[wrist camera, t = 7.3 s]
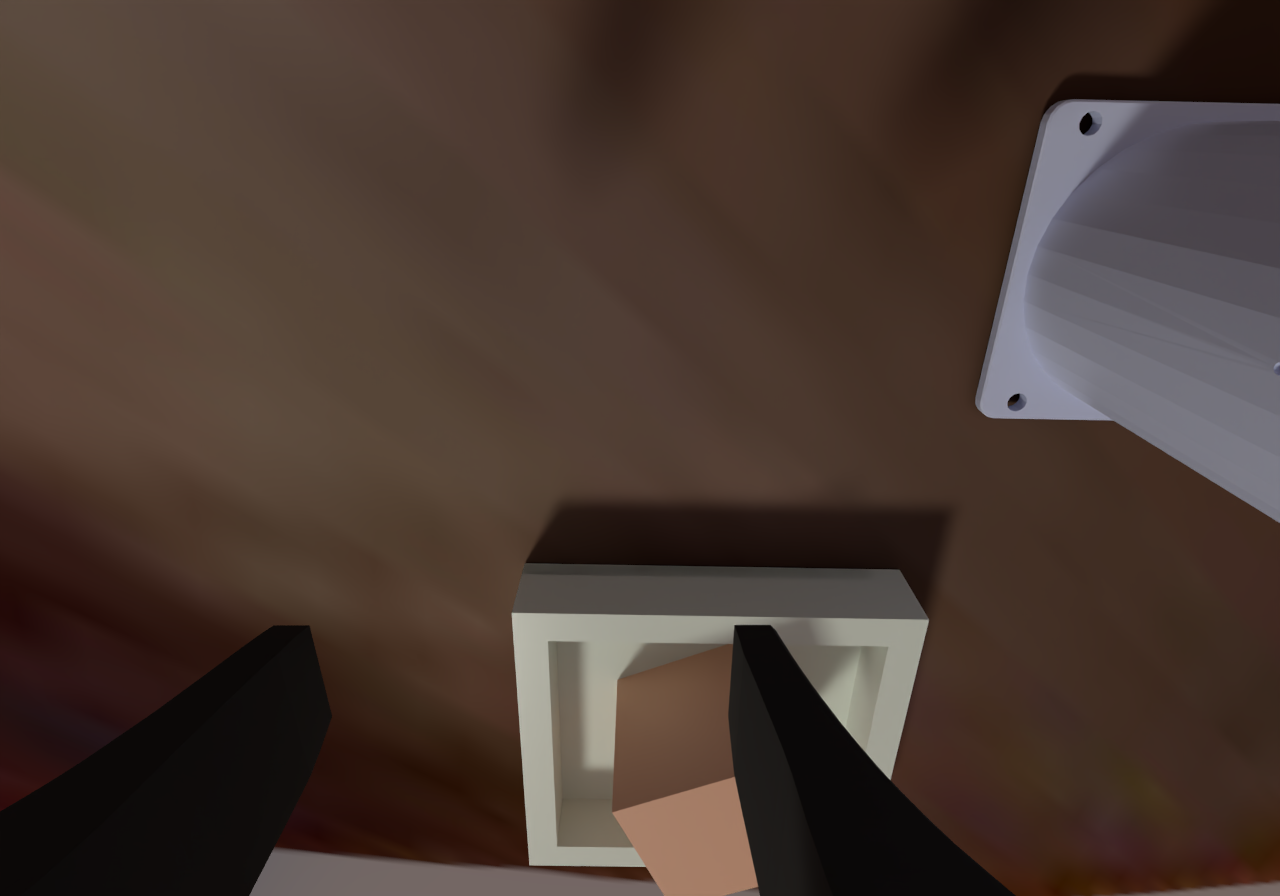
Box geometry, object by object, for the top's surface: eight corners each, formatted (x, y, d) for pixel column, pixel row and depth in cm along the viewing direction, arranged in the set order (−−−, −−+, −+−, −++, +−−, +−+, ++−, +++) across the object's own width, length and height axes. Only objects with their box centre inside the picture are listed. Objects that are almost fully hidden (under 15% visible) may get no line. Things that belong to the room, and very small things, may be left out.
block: (744, 638, 23) (769, 766, 18) (785, 732, 24) (818, 870, 20) (617, 679, 23) (612, 812, 19) (666, 768, 25) (673, 909, 21)
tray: (899, 569, 22) (929, 619, 20) (849, 807, 27) (868, 869, 25) (524, 563, 22) (511, 612, 20) (538, 802, 27) (529, 865, 24)
